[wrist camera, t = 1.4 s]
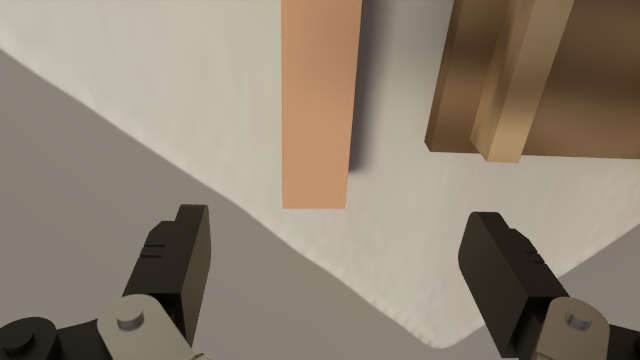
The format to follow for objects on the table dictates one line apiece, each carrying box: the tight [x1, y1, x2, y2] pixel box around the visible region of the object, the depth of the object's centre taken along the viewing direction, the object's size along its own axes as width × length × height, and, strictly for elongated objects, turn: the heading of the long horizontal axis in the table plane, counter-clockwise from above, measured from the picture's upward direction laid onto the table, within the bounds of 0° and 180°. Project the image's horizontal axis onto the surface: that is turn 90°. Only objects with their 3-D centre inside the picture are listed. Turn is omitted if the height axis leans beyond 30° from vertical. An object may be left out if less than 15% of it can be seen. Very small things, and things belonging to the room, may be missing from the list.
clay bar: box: [281, 0, 362, 209], centre depth 26 cm, size 16×4×4 cm, turn 178°
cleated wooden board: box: [424, 0, 640, 163], centre depth 27 cm, size 12×19×4 cm, turn 86°
